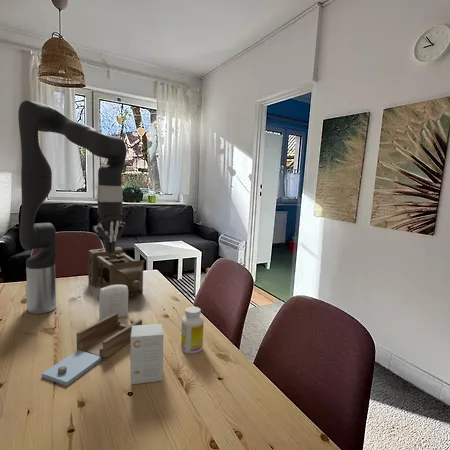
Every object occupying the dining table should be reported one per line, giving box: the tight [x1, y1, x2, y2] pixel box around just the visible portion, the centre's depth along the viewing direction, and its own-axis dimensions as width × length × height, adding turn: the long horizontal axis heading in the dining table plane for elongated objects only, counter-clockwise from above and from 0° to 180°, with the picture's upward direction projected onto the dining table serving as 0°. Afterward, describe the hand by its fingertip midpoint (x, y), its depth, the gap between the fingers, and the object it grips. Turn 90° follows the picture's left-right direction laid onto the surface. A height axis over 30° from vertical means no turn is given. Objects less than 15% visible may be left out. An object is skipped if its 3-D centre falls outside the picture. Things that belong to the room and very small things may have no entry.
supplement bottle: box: [180, 306, 204, 355], centre depth 94 cm, size 7×7×13 cm
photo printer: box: [98, 285, 129, 321], centre depth 113 cm, size 10×4×12 cm, turn 123°
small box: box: [130, 323, 164, 385], centre depth 80 cm, size 8×6×13 cm
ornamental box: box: [87, 246, 145, 297], centre depth 138 cm, size 35×18×18 cm, turn 42°
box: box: [76, 313, 143, 361], centre depth 96 cm, size 11×16×6 cm
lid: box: [41, 350, 103, 387], centre depth 82 cm, size 8×12×3 cm
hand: (110, 252), depth 100 cm, fingers closed
